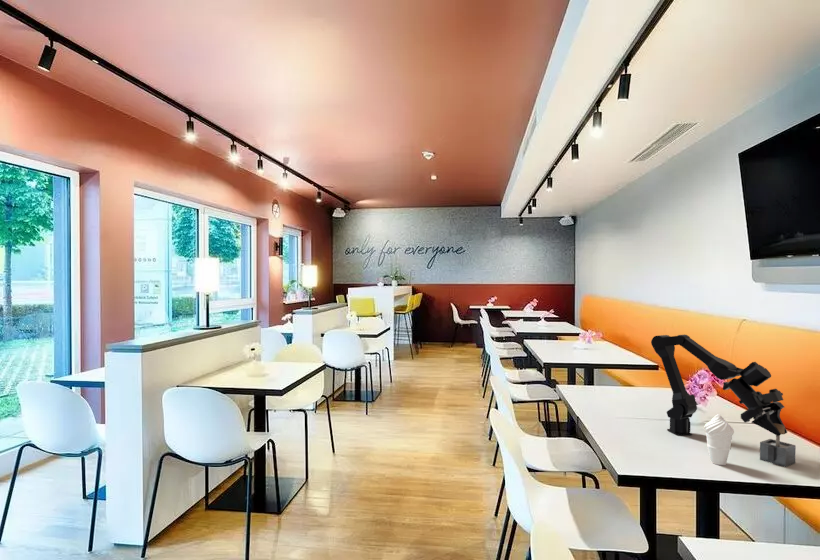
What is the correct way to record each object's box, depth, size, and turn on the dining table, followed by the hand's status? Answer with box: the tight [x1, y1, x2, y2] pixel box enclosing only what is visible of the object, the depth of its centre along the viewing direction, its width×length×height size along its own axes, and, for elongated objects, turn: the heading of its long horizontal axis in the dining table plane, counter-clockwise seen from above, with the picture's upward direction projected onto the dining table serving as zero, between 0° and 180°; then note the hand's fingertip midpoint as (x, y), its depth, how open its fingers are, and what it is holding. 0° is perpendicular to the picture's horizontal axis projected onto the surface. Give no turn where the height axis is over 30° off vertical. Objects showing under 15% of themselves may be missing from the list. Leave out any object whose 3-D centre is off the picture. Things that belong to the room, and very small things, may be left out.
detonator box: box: [759, 438, 797, 468], centre depth 156 cm, size 7×8×6 cm
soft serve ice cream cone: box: [703, 413, 735, 466], centre depth 154 cm, size 8×8×16 cm
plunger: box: [769, 423, 787, 448], centre depth 156 cm, size 5×5×8 cm
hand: (782, 434), depth 155 cm, fingers open, 4 cm apart
